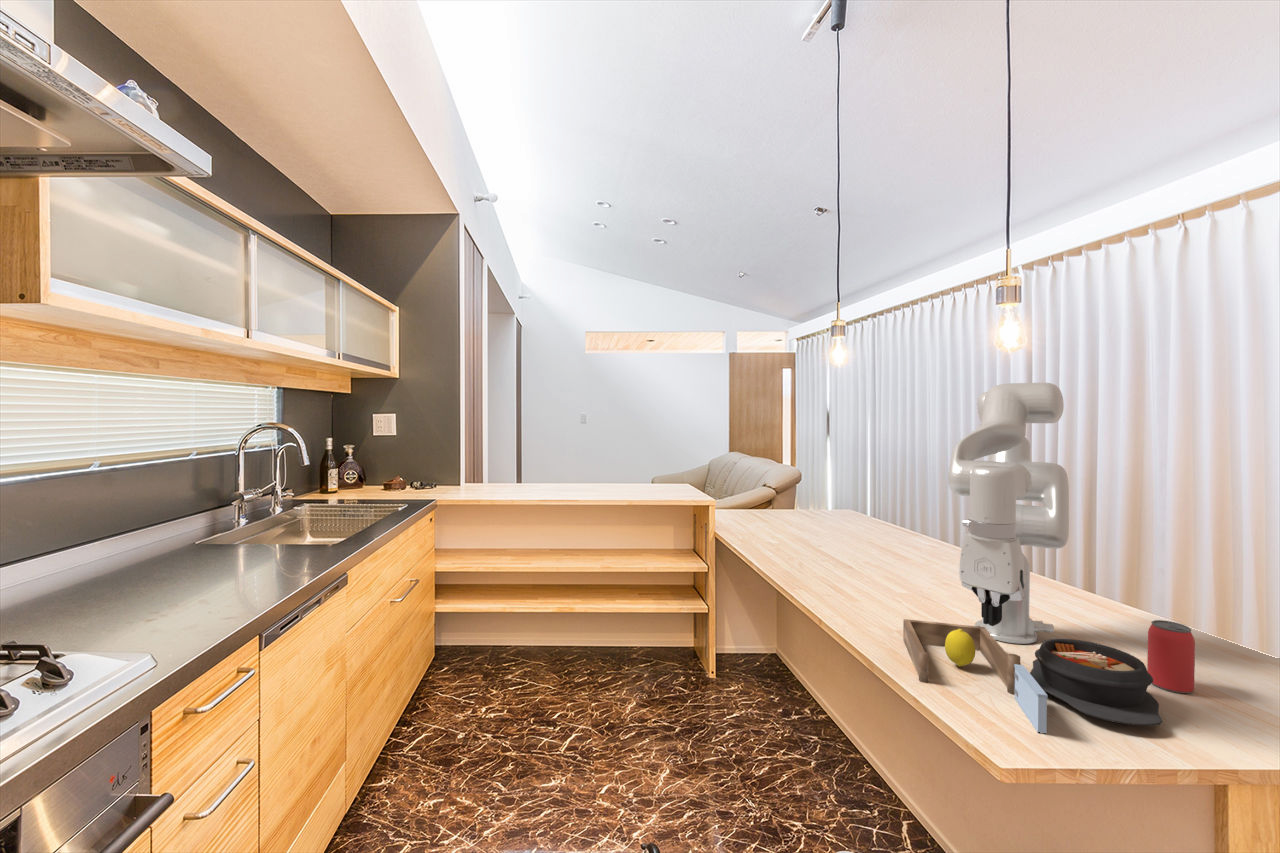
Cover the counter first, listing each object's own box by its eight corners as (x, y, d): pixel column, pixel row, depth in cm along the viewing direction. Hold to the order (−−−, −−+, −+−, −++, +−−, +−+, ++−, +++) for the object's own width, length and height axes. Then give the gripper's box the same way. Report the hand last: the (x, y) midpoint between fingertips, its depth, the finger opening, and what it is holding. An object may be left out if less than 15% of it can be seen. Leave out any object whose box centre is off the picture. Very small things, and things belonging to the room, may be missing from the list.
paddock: (986, 649, 123) (986, 618, 123) (1021, 695, 102) (1022, 658, 102) (902, 639, 128) (902, 610, 128) (919, 682, 108) (920, 647, 107)
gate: (1014, 698, 101) (1014, 664, 101) (1022, 699, 101) (1023, 665, 101) (1037, 732, 90) (1037, 693, 90) (1047, 734, 90) (1047, 695, 90)
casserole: (1008, 663, 116) (1009, 624, 116) (1113, 674, 111) (1114, 634, 111) (1062, 726, 92) (1063, 677, 92) (1199, 745, 87) (1200, 693, 87)
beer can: (1183, 697, 102) (1184, 634, 102) (1139, 682, 108) (1140, 621, 108) (1201, 690, 104) (1202, 628, 104) (1157, 675, 110) (1158, 617, 110)
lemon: (969, 675, 110) (970, 636, 110) (940, 666, 115) (940, 628, 114) (979, 667, 114) (979, 629, 114) (950, 658, 118) (950, 622, 118)
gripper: (942, 525, 109) (942, 615, 110) (1027, 540, 97) (1026, 641, 98) (961, 520, 113) (961, 607, 114) (1045, 534, 101) (1044, 631, 102)
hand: (991, 623), depth 106 cm, fingers closed
